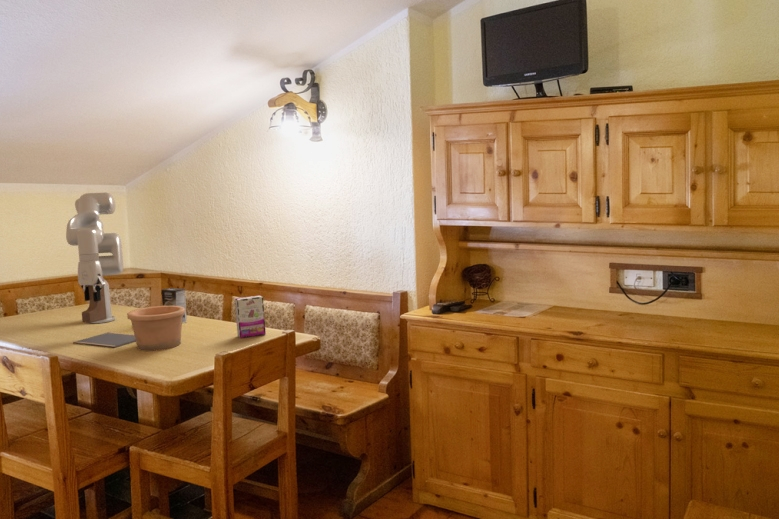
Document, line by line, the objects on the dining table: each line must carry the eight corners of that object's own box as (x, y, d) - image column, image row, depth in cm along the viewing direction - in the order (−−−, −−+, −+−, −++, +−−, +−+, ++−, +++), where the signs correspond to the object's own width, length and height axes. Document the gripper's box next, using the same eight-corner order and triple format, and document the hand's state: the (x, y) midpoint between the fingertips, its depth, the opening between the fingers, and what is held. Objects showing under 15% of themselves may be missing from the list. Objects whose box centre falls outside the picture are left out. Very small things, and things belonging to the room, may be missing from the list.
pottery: (131, 355, 244) (128, 318, 243) (129, 343, 264) (126, 309, 263) (190, 348, 253) (187, 312, 251) (184, 336, 273) (181, 303, 271)
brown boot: (89, 323, 268) (85, 280, 266) (82, 322, 270) (78, 280, 268) (107, 318, 276) (103, 277, 274) (99, 318, 278) (96, 277, 276)
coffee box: (163, 323, 301) (160, 289, 299) (173, 320, 307) (171, 287, 305) (177, 324, 297) (174, 290, 295) (187, 321, 303) (185, 288, 301)
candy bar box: (262, 332, 275) (260, 294, 273) (266, 334, 271) (263, 296, 269) (236, 336, 270) (234, 297, 268) (239, 338, 266) (237, 299, 264)
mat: (73, 343, 268) (73, 341, 267) (108, 333, 284) (108, 332, 284) (114, 348, 257) (114, 346, 257) (148, 337, 273) (148, 336, 273)
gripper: (67, 258, 270) (71, 301, 272) (95, 259, 263) (99, 303, 265) (82, 256, 277) (86, 298, 279) (110, 257, 270) (114, 300, 272)
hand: (92, 300), depth 272 cm, fingers closed on brown boot, 4 cm apart
